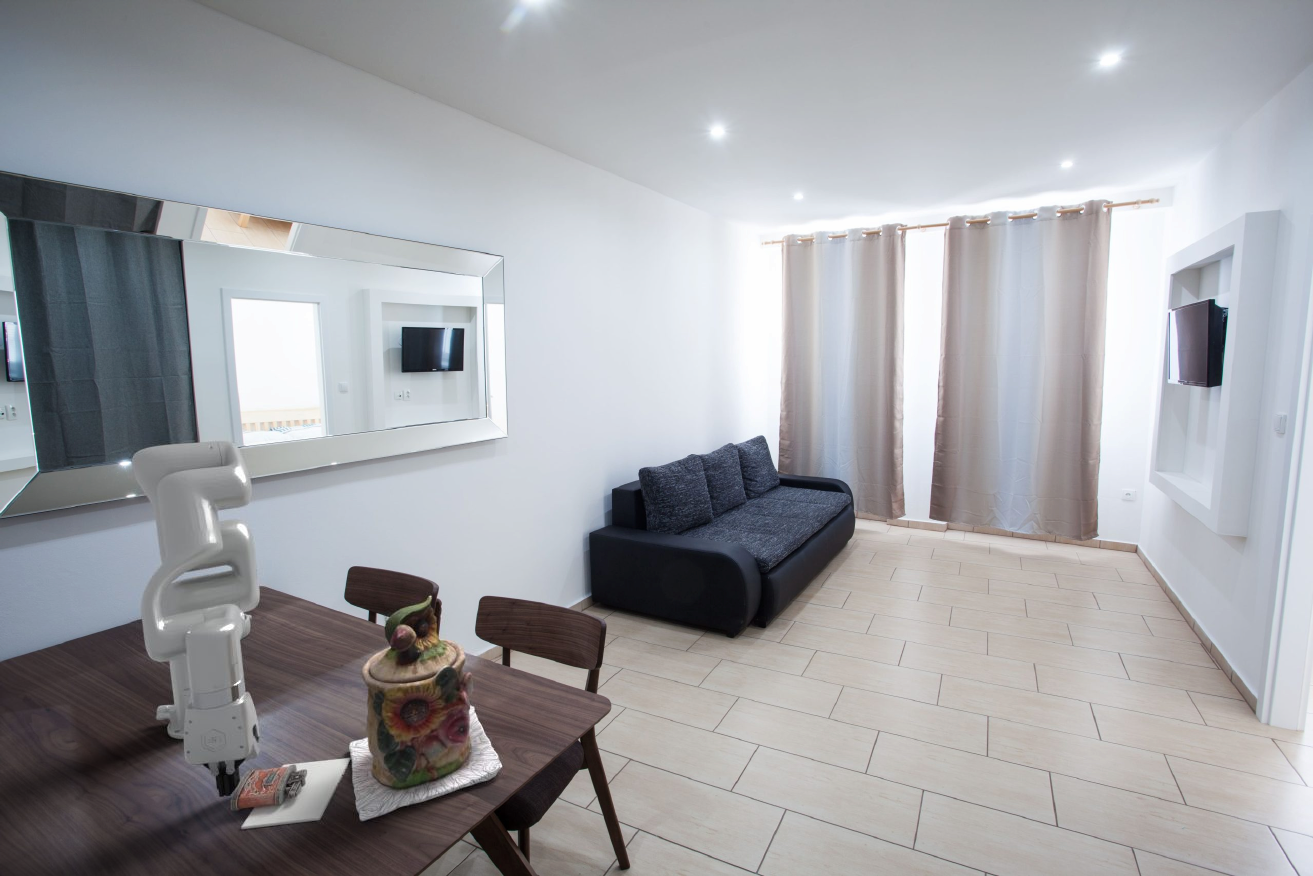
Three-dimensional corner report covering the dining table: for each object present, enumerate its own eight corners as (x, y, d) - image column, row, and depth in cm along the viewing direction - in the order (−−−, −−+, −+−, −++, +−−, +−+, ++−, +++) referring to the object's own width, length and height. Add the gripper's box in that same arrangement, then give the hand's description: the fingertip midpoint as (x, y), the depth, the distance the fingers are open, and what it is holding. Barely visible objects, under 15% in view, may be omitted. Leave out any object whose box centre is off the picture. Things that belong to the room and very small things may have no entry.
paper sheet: (241, 829, 102) (241, 827, 102) (283, 767, 118) (283, 765, 118) (319, 820, 104) (319, 817, 104) (350, 759, 120) (350, 757, 120)
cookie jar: (347, 749, 123) (334, 593, 119) (473, 713, 135) (465, 570, 131) (358, 829, 102) (343, 643, 98) (506, 778, 114) (498, 610, 110)
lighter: (250, 765, 112) (310, 757, 114) (252, 782, 113) (312, 774, 115) (229, 798, 104) (295, 790, 106) (232, 816, 105) (297, 807, 107)
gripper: (156, 708, 102) (168, 811, 104) (255, 700, 104) (265, 801, 106) (183, 685, 109) (194, 782, 112) (275, 677, 111) (284, 772, 114)
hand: (229, 791), depth 109 cm, fingers closed
